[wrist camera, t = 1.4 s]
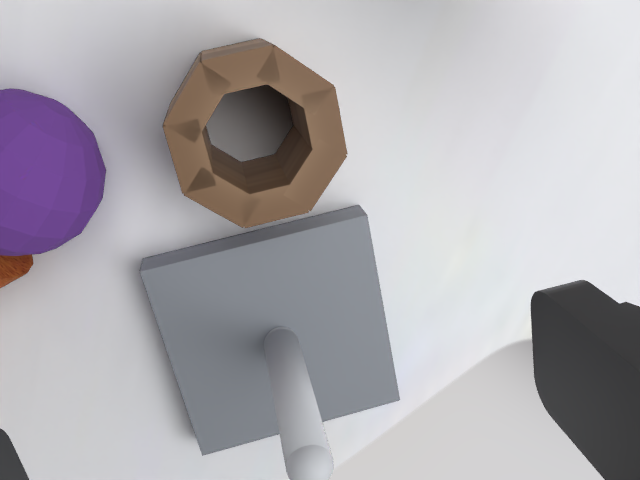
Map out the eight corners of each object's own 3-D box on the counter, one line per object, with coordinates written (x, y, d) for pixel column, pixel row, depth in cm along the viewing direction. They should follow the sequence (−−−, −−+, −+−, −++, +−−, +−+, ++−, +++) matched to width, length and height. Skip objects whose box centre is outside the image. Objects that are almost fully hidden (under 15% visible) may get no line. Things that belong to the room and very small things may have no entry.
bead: (157, 60, 25) (146, 72, 20) (302, 29, 25) (325, 33, 20) (197, 200, 27) (196, 240, 22) (330, 168, 27) (355, 200, 23)
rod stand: (142, 258, 27) (109, 397, 17) (359, 204, 28) (442, 308, 18) (202, 435, 31) (202, 631, 21) (391, 383, 32) (474, 547, 22)
